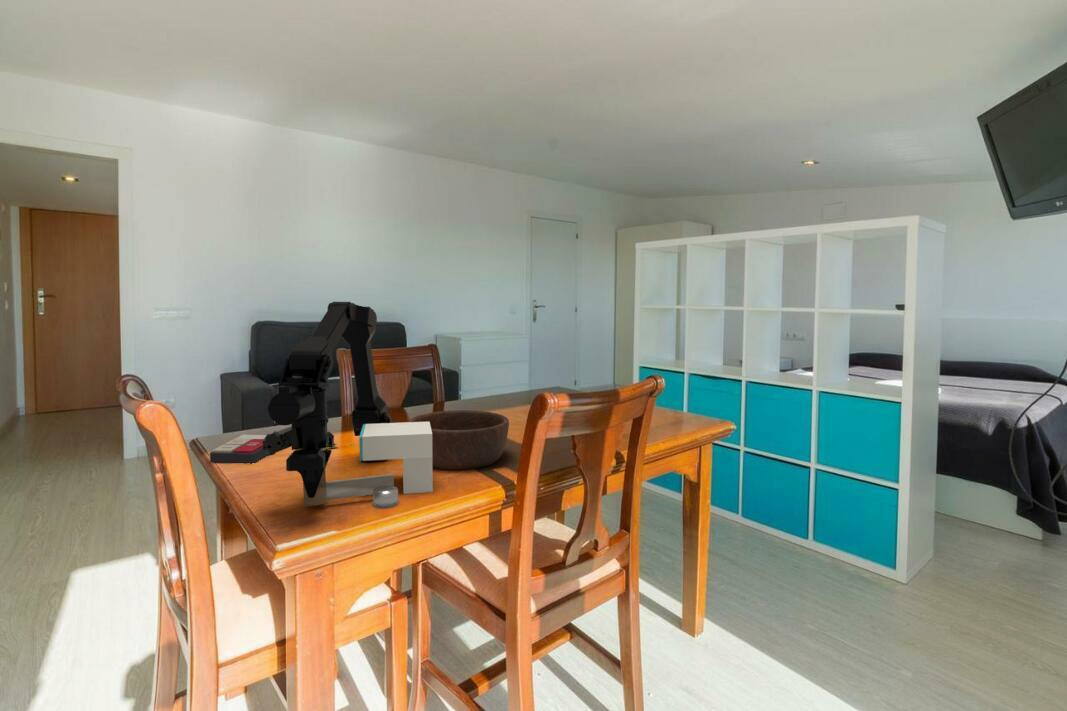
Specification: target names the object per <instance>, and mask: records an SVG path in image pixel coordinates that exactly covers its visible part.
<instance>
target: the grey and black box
mask: <svg viewBox="0 0 1067 711" xmlns="http://www.w3.org/2000/svg"><path fill="white" fill-rule="evenodd" d="M266 435H267V434H241V435H240V436H238V437H236V438H232V439H231V440H229V441H227V442H225V443H224V444H221V445H220V446H218V447H216V448H214V449H212V451H210V452H209V458H210V463H211V462H214V463H213V464H231V463H245V464H244V465H247V464H246V463H250V464H249V465H253V464H252V463H255V464H257V463H259V462H260V461H262V460H264V459H266V458H267V457H269V456H268V453H267V451H266V450H263V443H262V440H263V439H264V438H265V437H266ZM266 456H267V457H266ZM263 458H264V459H263ZM261 459H262V460H261ZM259 460H260V461H259Z"/></svg>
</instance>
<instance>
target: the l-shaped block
mask: <svg viewBox="0 0 1067 711" xmlns="http://www.w3.org/2000/svg"><path fill="white" fill-rule="evenodd" d="M358 438H359V439H358V440H359V441H358V442H359V461H360V462H361V460H363V461H368V460H387V459H388V460H402V475H403V476H402V477H403V480H402V481H403V483H402V484H403V487H402V488H403V494H404V495H405V494H407V495H408V494H420V493H421V494H422V493H423V494H424V493H433V488H434V487H433V486H434V484H433V482H434V481H433V469H434V468H433V467H432V431H431V426H430V422H408V421H407V422H393V423H378V424H363V427H362V430H361V433H360V436H358ZM388 460H387V461H388Z"/></svg>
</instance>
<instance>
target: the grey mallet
mask: <svg viewBox="0 0 1067 711" xmlns="http://www.w3.org/2000/svg"><path fill="white" fill-rule="evenodd" d="M326 479H327V477H326V468H325V469H324V472H323V475H322V477H321V480H320V483H319V486H318V489H317V491H316V494H315V497H314V498H309V497H308V495H307V492H306V489H305V485H304V482H303V481H302V484H303V485H302V486H303V488H302V489H303V503H304V504H303V505H304V506H303V507H311V506H319V505H327V504H328V503H327V502H328V501H331V500H333V501H334V500H341V499H346V498H348V499H349V498H355V497H362V496H369V495H371V496H372V495H373V490H374V489H375V488H378V487H382V486H394V485H395V484H394V481H395V480H394V473H388V474H380V475H372V476H371V475H370V476H364V477H363V476H362V477H356V478H355V477H353V478H347V479H346V478H345V479H339V480H337V479H336V480H331V481H327V480H326ZM394 487H395V486H394Z"/></svg>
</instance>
